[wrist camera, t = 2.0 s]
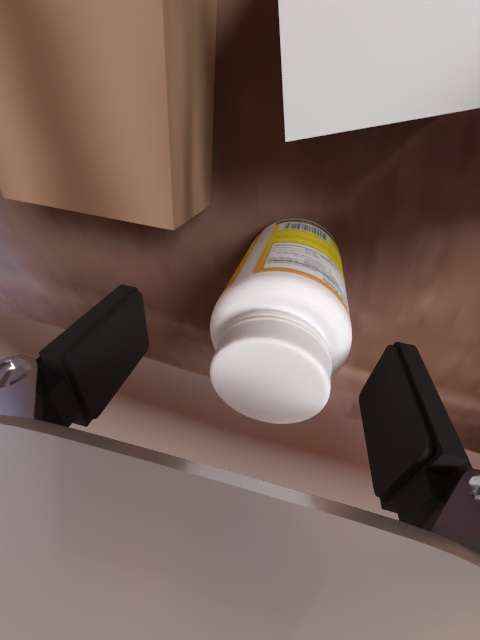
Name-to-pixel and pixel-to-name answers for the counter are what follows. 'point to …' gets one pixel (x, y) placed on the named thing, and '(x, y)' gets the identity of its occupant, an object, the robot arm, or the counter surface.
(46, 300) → the counter surface
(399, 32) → the white cube
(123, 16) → the brown square block
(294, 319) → the supplement bottle
